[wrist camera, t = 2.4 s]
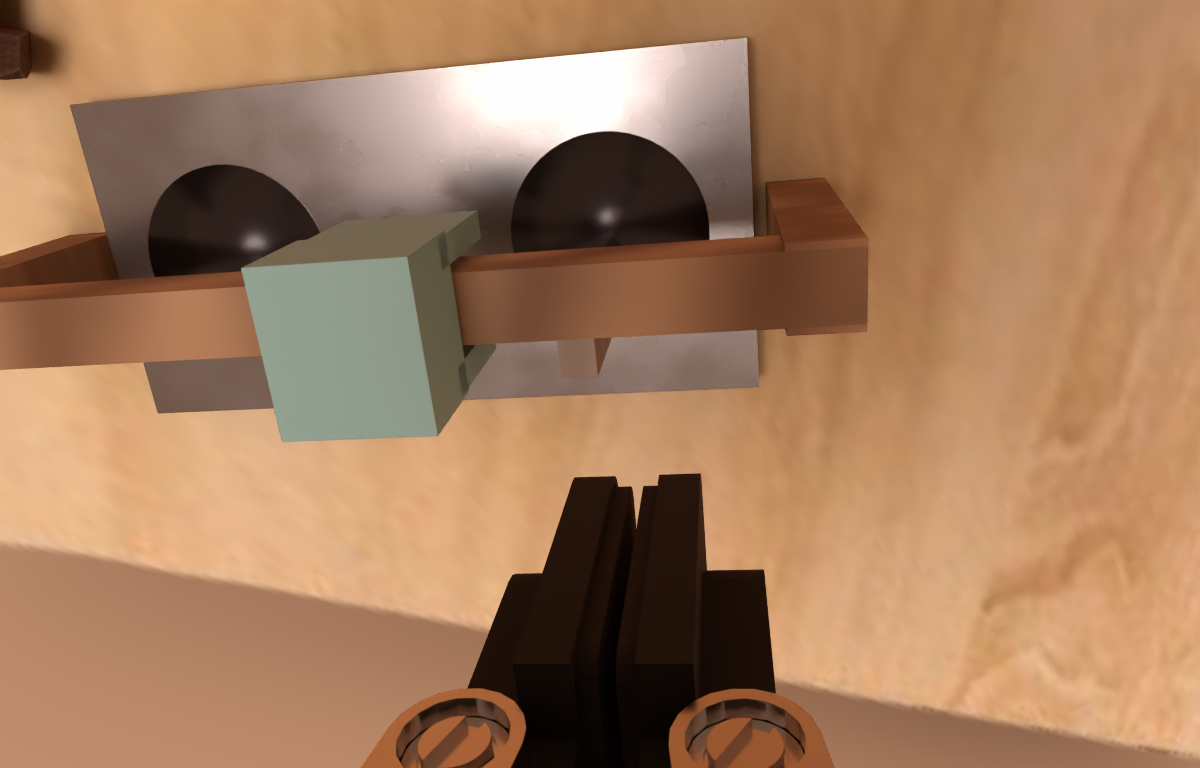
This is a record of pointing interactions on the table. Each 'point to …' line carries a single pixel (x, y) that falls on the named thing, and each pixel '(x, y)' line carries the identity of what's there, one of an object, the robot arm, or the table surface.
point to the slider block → (366, 328)
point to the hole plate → (441, 188)
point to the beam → (468, 294)
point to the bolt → (14, 53)
